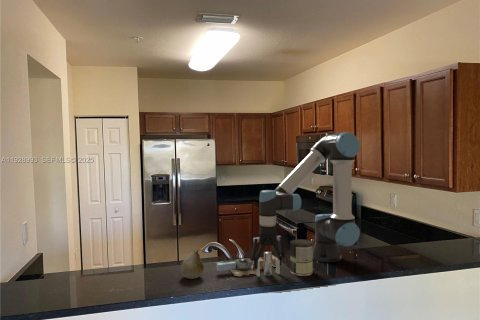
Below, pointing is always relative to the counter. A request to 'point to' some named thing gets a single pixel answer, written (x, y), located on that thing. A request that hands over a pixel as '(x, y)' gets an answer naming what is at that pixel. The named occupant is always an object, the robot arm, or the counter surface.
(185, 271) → the fruit
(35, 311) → the counter surface
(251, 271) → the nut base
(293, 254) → the coffee can
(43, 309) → the counter surface
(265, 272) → the pin
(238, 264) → the grey metal pan
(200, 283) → the counter surface
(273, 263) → the slot rails
